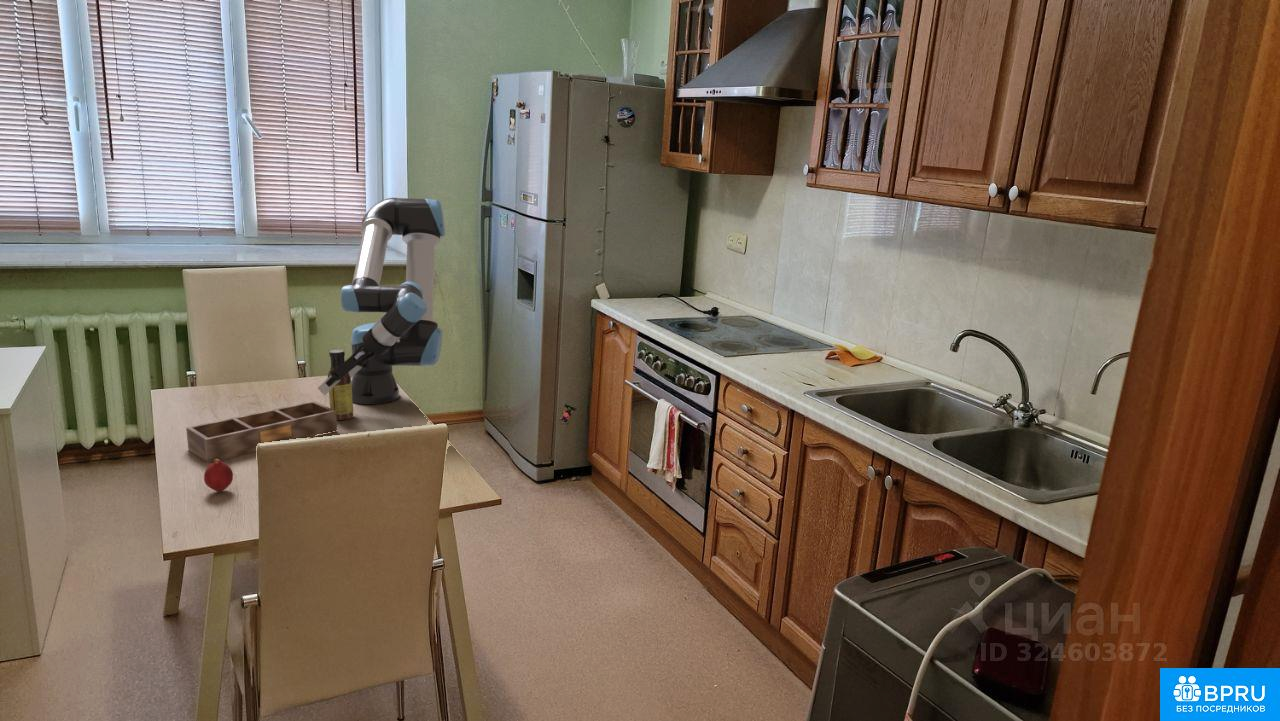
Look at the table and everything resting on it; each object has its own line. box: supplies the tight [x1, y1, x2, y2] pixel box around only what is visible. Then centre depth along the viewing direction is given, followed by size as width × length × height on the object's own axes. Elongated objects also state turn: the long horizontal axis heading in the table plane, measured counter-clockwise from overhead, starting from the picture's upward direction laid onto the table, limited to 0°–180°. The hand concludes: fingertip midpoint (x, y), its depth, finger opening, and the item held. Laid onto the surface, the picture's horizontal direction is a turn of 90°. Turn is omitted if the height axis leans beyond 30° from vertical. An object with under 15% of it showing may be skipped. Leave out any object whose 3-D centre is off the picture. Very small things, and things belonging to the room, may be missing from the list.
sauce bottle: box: [327, 349, 354, 421], centre depth 236 cm, size 6×6×20 cm
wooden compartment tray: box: [185, 400, 338, 464], centre depth 217 cm, size 34×12×6 cm, turn 139°
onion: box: [203, 459, 234, 493], centre depth 185 cm, size 6×6×8 cm
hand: (332, 384), depth 236 cm, fingers open, 13 cm apart
